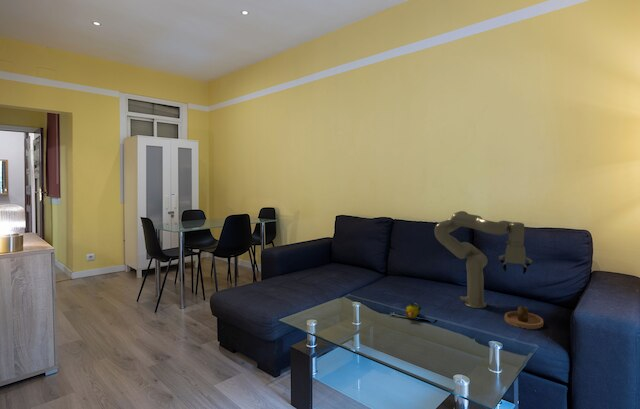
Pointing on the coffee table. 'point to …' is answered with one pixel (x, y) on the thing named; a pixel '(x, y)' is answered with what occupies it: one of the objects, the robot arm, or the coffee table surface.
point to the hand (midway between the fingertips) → (514, 272)
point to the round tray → (532, 323)
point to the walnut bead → (523, 314)
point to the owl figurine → (411, 311)
